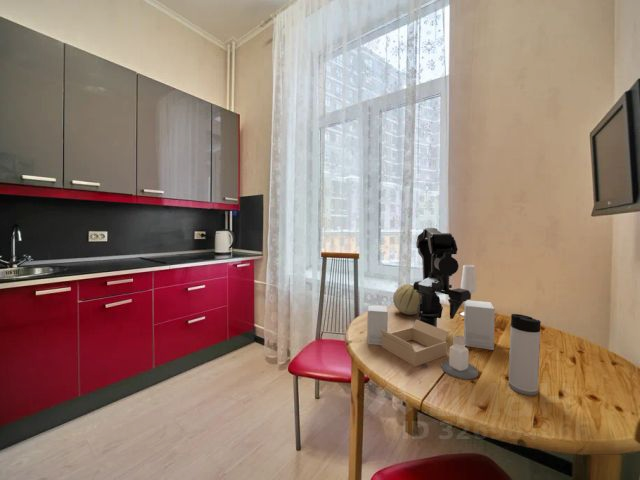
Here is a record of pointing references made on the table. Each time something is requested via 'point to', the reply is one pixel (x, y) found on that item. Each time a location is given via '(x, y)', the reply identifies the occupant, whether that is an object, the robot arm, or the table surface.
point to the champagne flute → (468, 279)
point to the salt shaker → (458, 354)
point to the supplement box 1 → (376, 324)
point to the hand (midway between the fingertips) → (439, 314)
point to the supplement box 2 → (479, 324)
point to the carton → (421, 334)
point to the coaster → (465, 374)
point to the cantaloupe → (406, 299)
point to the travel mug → (524, 354)
